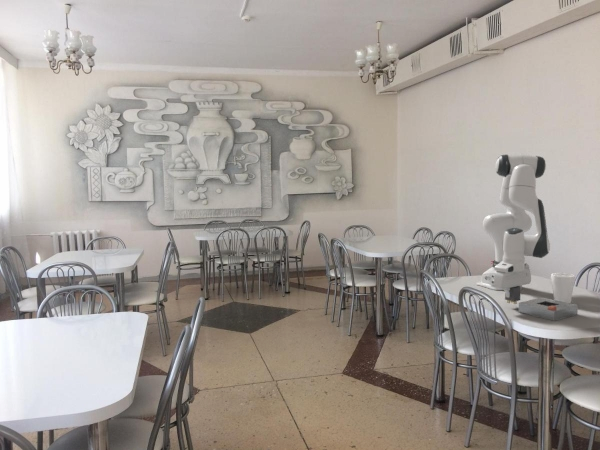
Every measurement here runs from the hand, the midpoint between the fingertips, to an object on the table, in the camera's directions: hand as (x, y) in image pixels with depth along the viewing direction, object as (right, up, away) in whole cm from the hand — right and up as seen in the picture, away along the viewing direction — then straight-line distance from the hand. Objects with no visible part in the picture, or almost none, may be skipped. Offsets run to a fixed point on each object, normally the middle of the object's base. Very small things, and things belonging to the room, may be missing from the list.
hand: (512, 296), depth 214 cm
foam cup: (+25, -4, +5) cm, 26 cm away
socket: (+11, -6, -10) cm, 15 cm away
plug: (0, -3, 0) cm, 3 cm away
